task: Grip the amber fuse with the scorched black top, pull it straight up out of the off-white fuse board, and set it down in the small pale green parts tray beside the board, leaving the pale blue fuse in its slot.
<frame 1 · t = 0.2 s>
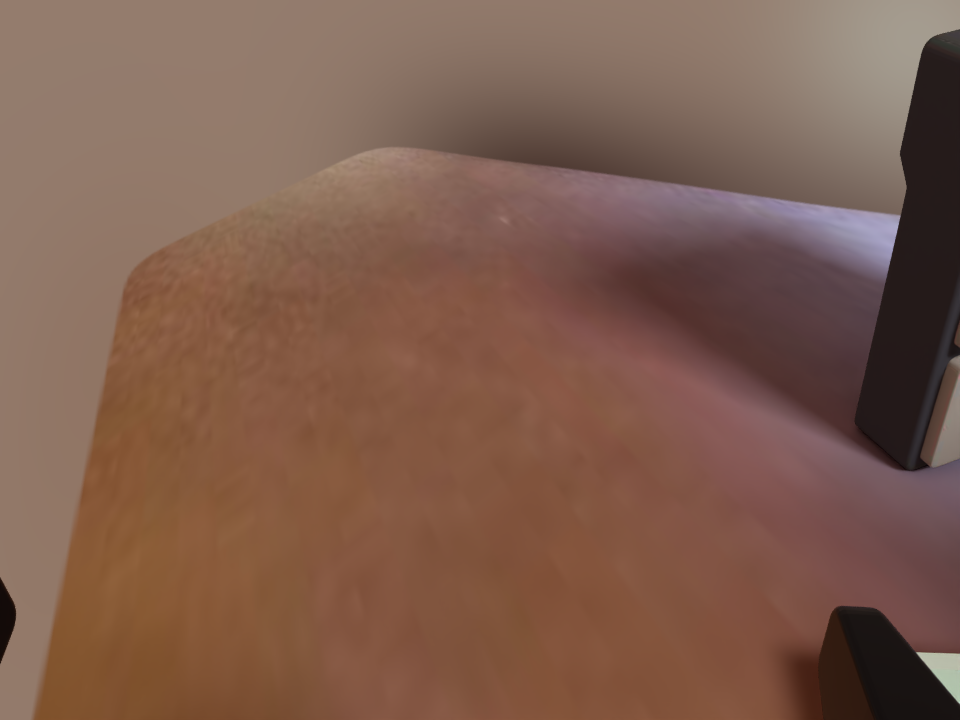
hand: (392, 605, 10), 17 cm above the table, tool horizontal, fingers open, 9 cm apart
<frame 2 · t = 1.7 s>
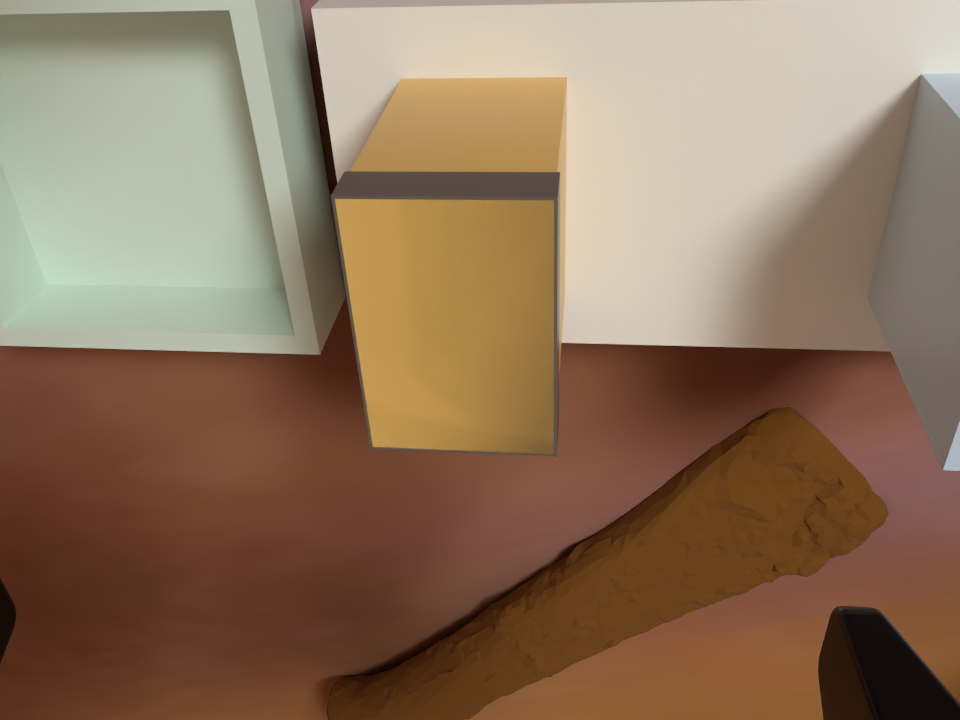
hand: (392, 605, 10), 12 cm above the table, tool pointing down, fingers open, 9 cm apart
fuse board: (713, 142, 19), on the table
parts tray: (151, 143, 20), on the table
primitive tool: (568, 572, 28), on the table
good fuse: (937, 142, 18), touching fuse board
blown fuse: (500, 142, 19), touching fuse board
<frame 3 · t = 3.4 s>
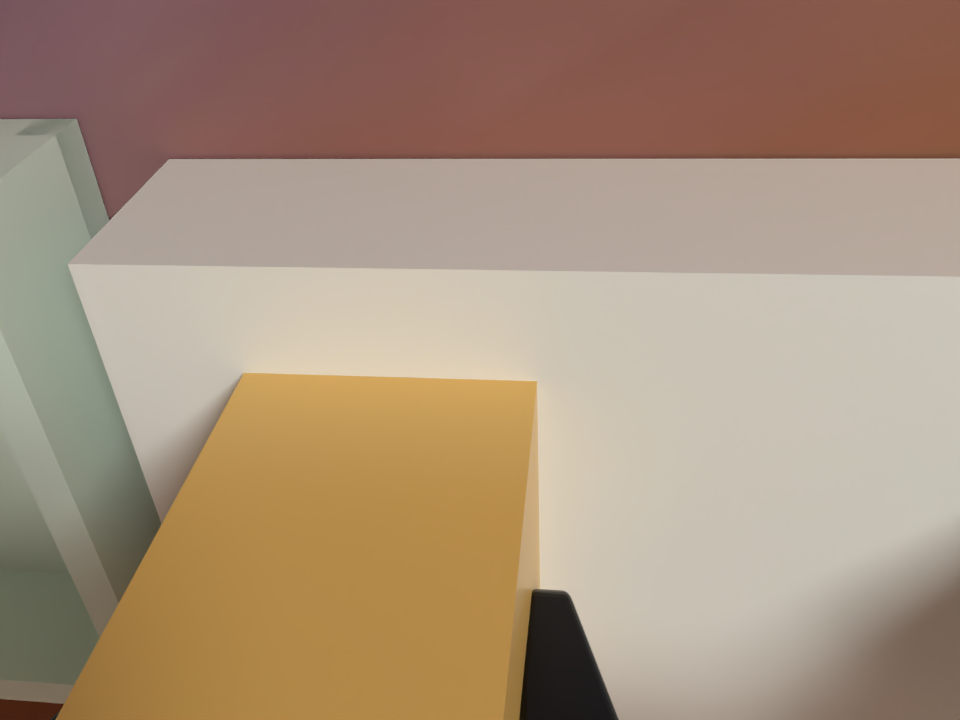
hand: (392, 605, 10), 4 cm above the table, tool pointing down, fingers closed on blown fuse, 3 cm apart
fuse board: (778, 409, 12), on the table
blown fuse: (440, 399, 12), touching fuse board, gripper
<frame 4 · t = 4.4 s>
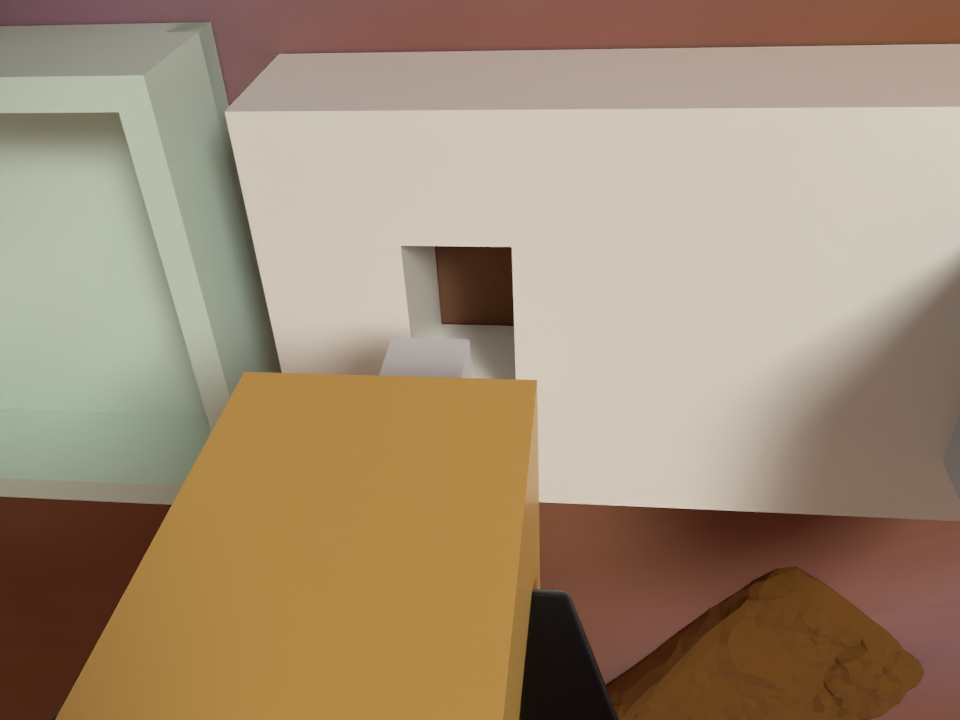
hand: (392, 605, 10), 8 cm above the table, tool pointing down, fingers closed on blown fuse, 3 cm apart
fuse board: (744, 256, 15), on the table
parts tray: (52, 248, 17), on the table
blown fuse: (440, 398, 12), point 4 cm above the table, touching gripper
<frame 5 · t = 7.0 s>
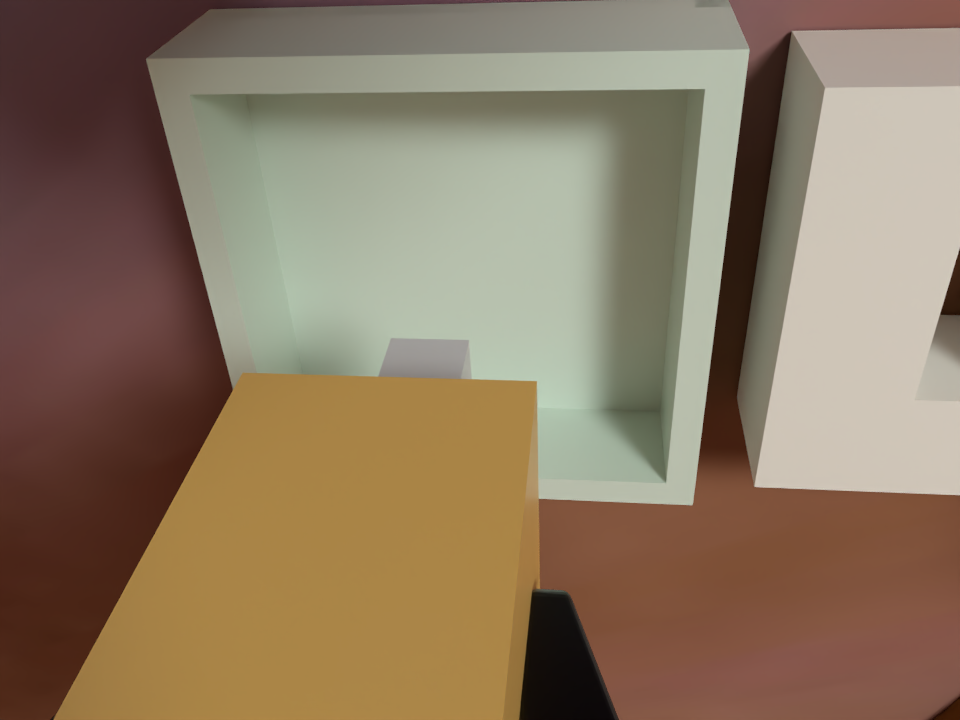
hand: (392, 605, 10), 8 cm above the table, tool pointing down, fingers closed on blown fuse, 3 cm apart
parts tray: (473, 236, 16), on the table
blown fuse: (440, 399, 12), point 5 cm above the table, touching gripper
when the fingers open (5 cm above the table, at t = 7.9 s): blown fuse stays where it is, resting on parts tray.
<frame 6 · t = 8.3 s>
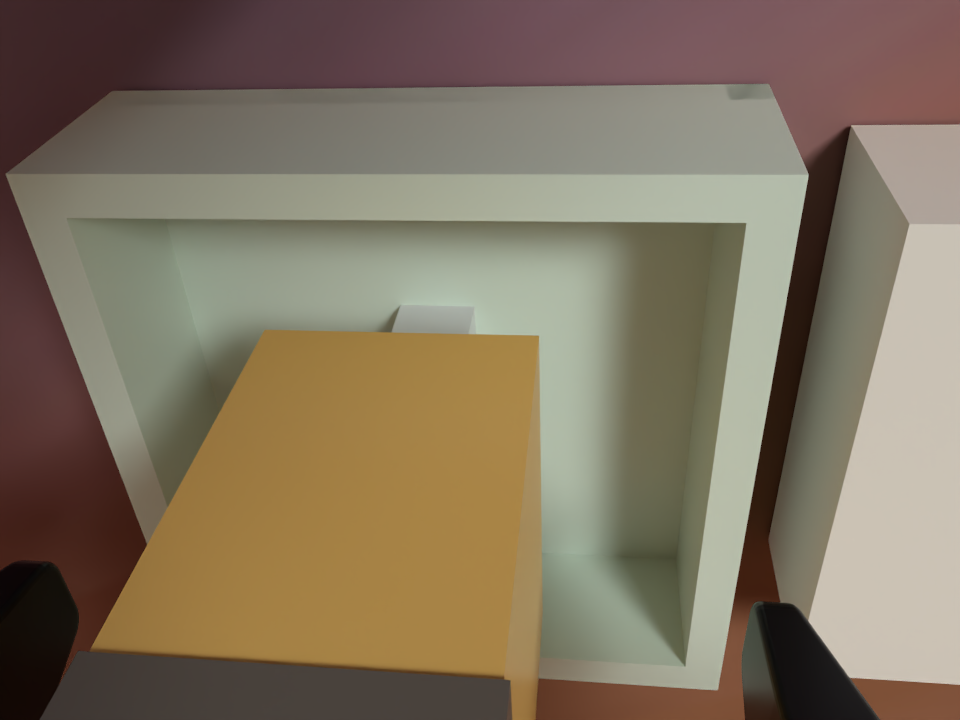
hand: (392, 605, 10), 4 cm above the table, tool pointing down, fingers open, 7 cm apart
parts tray: (448, 357, 13), on the table
blown fuse: (446, 364, 13), resting on parts tray
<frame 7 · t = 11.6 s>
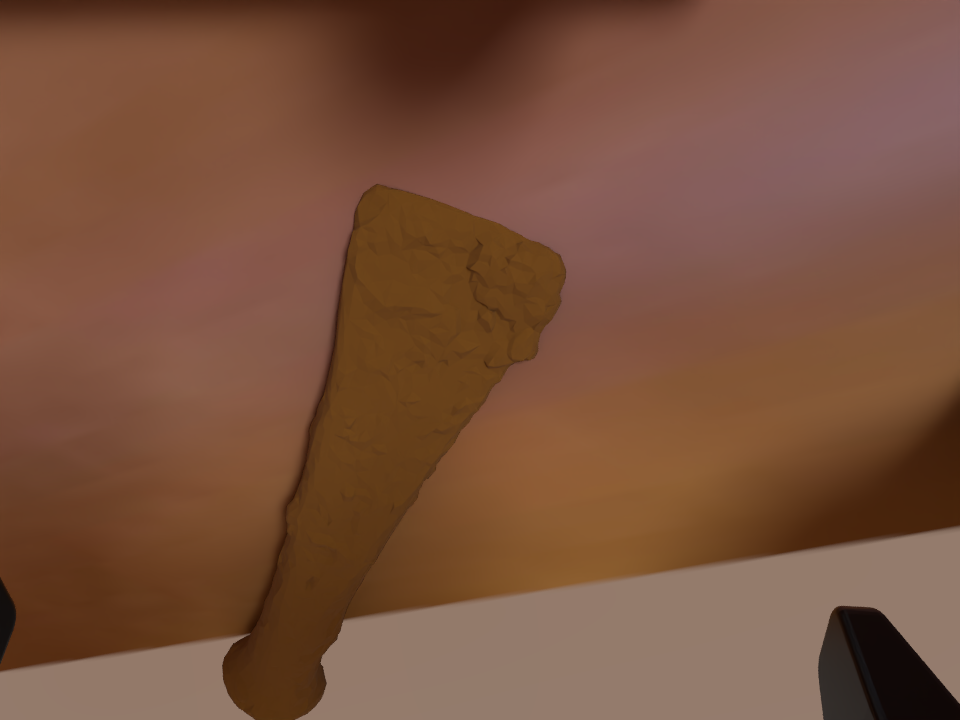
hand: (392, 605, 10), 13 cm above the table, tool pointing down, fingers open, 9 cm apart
primitive tool: (355, 454, 27), on the table
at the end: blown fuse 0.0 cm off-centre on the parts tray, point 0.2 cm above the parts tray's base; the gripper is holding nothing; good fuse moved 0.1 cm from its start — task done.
